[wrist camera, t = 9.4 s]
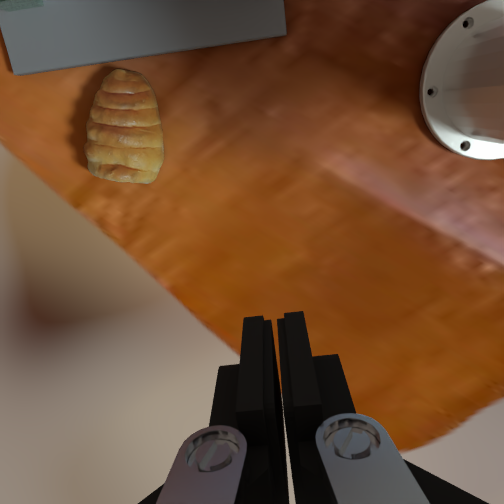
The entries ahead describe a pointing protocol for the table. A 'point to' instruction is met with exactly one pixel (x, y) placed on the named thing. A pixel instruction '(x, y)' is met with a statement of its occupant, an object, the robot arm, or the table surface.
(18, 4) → the stand
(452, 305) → the table surface
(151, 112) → the pastry
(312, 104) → the table surface
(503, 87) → the robot arm
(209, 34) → the slate mat
